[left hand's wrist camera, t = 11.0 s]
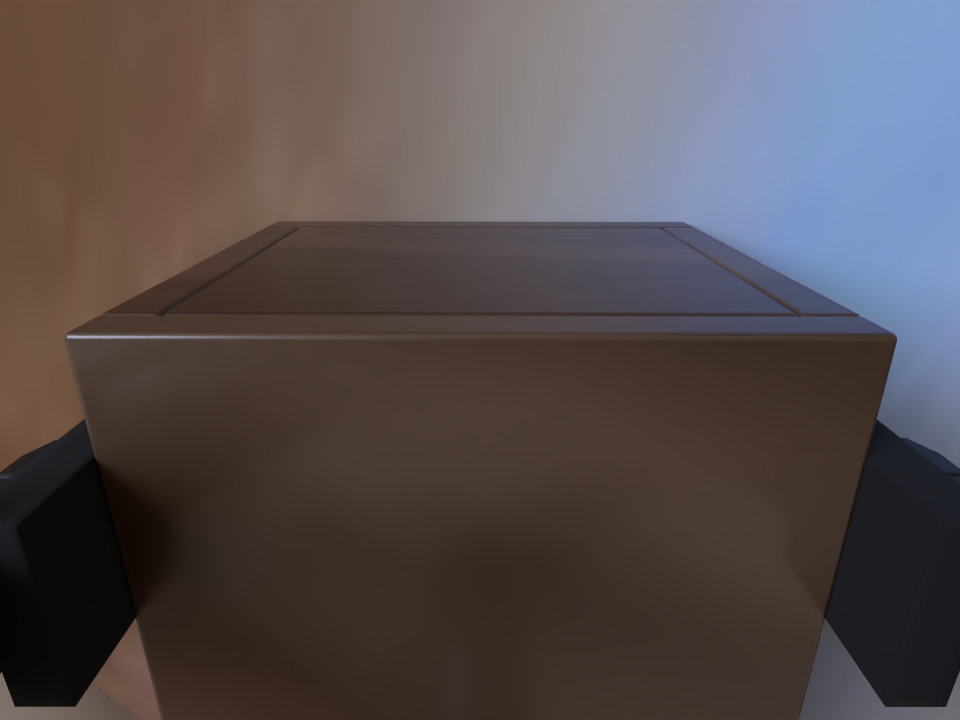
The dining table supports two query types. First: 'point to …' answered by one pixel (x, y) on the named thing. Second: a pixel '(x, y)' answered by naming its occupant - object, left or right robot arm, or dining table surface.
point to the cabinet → (480, 472)
